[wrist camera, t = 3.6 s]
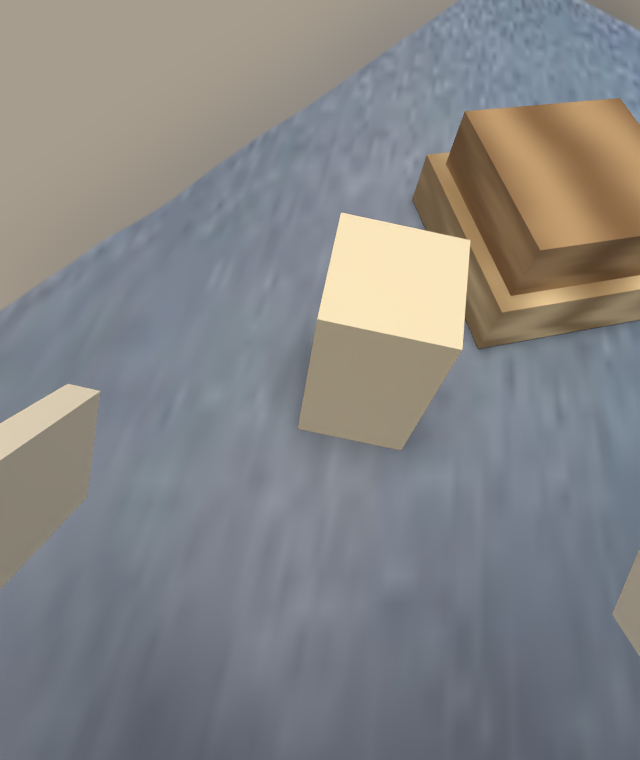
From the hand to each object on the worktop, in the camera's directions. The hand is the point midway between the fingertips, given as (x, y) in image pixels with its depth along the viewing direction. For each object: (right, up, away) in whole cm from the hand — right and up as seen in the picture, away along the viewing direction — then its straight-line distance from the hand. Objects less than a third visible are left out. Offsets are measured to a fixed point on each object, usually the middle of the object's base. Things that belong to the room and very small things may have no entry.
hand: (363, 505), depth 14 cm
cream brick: (+1, +2, +21) cm, 21 cm away
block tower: (+14, +12, +28) cm, 33 cm away
